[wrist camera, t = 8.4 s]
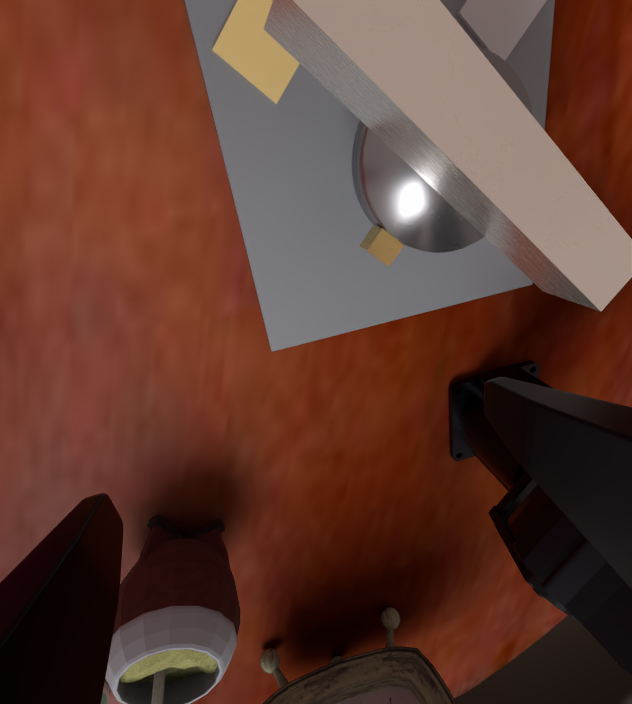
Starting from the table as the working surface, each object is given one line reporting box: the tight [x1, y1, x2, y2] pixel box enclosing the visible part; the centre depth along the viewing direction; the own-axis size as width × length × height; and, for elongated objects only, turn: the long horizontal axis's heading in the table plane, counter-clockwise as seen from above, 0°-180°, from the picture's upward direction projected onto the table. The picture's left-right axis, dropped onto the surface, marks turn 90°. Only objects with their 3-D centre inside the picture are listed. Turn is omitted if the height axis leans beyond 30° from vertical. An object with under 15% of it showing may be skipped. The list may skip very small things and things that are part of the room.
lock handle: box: [264, 0, 632, 312], centre depth 14 cm, size 15×8×5 cm, turn 54°
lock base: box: [184, 0, 555, 352], centre depth 18 cm, size 16×16×4 cm
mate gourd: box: [105, 516, 240, 704], centre depth 20 cm, size 8×8×15 cm
